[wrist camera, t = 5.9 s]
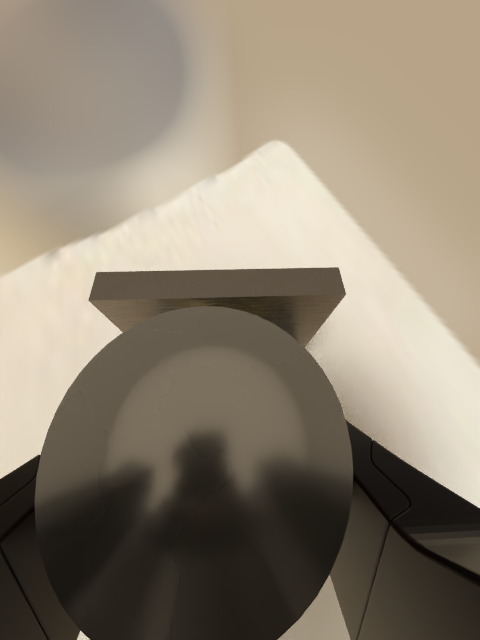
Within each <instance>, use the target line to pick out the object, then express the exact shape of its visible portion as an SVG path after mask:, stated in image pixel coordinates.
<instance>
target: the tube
mask: <svg viewBox="0 0 480 640" xmlns="http://www.w3.org/2000/svg"><path fill="white" fill-rule="evenodd" d="M352 492H353V461H352V450H351V443H350V438H349V433H348V428H347V423H346V420H345V417H344V414H343V411H342V408H341V405H340V402H339V400H338V398H337V396H336V393H335V391H334V389H333V387H332V385H331V383H330V382H329V380H328V378H327V377H326V375H325V373H324V371H323V370H322V368H321V367H320V366H319V365H318V363H317V362H316V361H315V359H314V358H313V357H312V355H311V354H310V353H309V352H308V351H307V350H306V349H305V348H304V347H303V346H302V345H301V344H300V343H299V342H298V341H297V340H295V339H294V338H293V337H292V336H291V335H289V334H288V333H287V332H285V331H284V330H282V329H281V328H279V327H278V326H276V325H275V324H273V323H271V322H269V321H267V320H265V319H263V318H261V317H259V316H256V315H253V314H250V313H247V312H245V311H240V310H236V309H232V308H225V307H216V306H198V307H189V308H182V309H177V310H173V311H169V312H165V313H163V314H160V315H157V316H154V317H151V318H149V319H147V320H145V321H143V322H141V323H139V324H137V325H135V326H133V327H132V328H130V329H128V330H127V331H125V332H124V333H122V334H120V335H119V336H118V337H117V338H115V339H114V340H113V341H111V342H110V343H109V344H107V345H106V346H105V347H104V348H103V349H102V350H101V351H100V352H99V353H98V354H97V355H96V356H95V357H93V359H92V360H91V361H90V362H89V363H88V364H87V365H86V367H85V368H84V369H83V370H82V371H81V372H80V374H79V375H78V376H77V378H76V379H75V381H74V382H73V384H72V385H71V386H70V388H69V389H68V391H67V393H66V394H65V396H64V398H63V400H62V402H61V403H60V405H59V407H58V409H57V411H56V413H55V416H54V418H53V420H52V422H51V425H50V427H49V429H48V432H47V436H46V439H45V442H44V445H43V449H42V452H41V456H40V461H39V467H38V472H37V477H36V490H35V523H36V533H37V538H38V544H39V550H40V555H41V558H42V561H43V564H44V567H45V570H46V574H47V577H48V580H49V582H50V584H51V586H52V588H53V590H54V592H55V594H56V596H57V598H58V600H59V602H60V604H61V606H62V607H63V608H64V610H65V611H66V612H67V614H68V615H69V617H70V618H71V619H72V621H73V622H74V623H75V625H76V626H77V627H78V628H79V629H80V630H81V631H82V632H83V633H84V634H85V635H86V636H87V637H88V638H89V639H90V640H277V639H279V638H280V637H281V636H282V635H283V634H284V633H285V632H286V631H287V630H288V629H289V628H290V627H291V626H292V625H293V624H294V623H295V622H296V621H297V620H298V619H299V618H300V617H301V616H302V615H303V613H304V612H305V611H306V609H307V608H308V607H309V606H310V604H311V603H312V602H313V600H314V599H315V598H316V596H317V595H318V593H319V591H320V590H321V588H322V586H323V584H324V583H325V581H326V579H327V578H328V576H329V574H330V572H331V570H332V568H333V565H334V563H335V561H336V558H337V556H338V553H339V551H340V548H341V546H342V542H343V539H344V535H345V531H346V528H347V524H348V520H349V514H350V507H351V501H352Z"/></svg>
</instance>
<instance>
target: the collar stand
mask: <svg viewBox="0 0 480 640" xmlns="http://www.w3.org/2000/svg"><path fill="white" fill-rule="evenodd" d="M345 295H346V293H345V289H344V286H343V282H342V278H341V275H340V271H339V268H288V269H238V270H187V271H137V272H96V276H95V279H94V283H93V287H92V290H91V294H90V297H89V301H90V302H91V303H92V304H93V305H94V306H95V307H96V308H97V309H98V310H99V311H100V312H102V313H103V314H104V315H105V316H106V317H107V318H108V319H109V320H110V321H111V322H112V323H113V324H114V325H116V326H117V327H118V328H119V329H120V330H121V331H122V332H123V333H124V332H125V331H127V330H128V329H130V328H132V327H133V326H135V325H137V324H139V323H141V322H143V321H145V320H147V319H149V318H151V317H154V316H157V315H160V314H163V313H165V312H169V311H173V310H177V309H182V308H189V307H198V306H216V307H225V308H232V309H236V310H240V311H245V312H247V313H250V314H253V315H256V316H259V317H261V318H263V319H265V320H267V321H269V322H271V323H273V324H275V325H276V326H278V327H279V328H281V329H282V330H284V331H285V332H287V333H288V334H289V335H291V336H292V337H293V338H294V339H295V340H297V341H298V342H299V343H300V344H301V345H302V346H303V347H304V348H305V346H306V345H307V344H308V342H309V341H310V340H311V339H312V337H313V336H314V335H315V333H316V332H317V331H318V330H319V328H320V327H321V326H322V324H323V323H324V322H325V321H326V319H327V318H328V317H329V315H330V314H331V313H332V312H333V310H334V309H335V308H336V307H337V305H338V304H339V303H340V301H341V300H342V299H343V298H344V296H345Z"/></svg>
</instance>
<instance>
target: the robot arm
mask: <svg viewBox="0 0 480 640" xmlns="http://www.w3.org/2000/svg"><path fill="white" fill-rule="evenodd" d="M346 423H347V428H348V433H349V438H350V443H351V450H352V461H353V492H352V501H351V507H350V514H349V520H348V524H347V528H346V531H345V535H344V539H343V542H342V546H341V548H340V551H339V553H338V556H337V558H336V561H335V563H334V565H333V568H332V570H331V572H330V576H331V579H332V582H333V585H334V589H335V592H336V595H337V598H338V601H339V604H340V607H341V610H342V613H343V617H344V620H345V623H346V626H347V629H348V632H349V635H350V638H351V640H480V508H478V507H477V506H475V505H473V504H472V503H470V502H468V501H467V500H465V499H464V498H462V497H460V496H459V495H457V494H456V493H454V492H452V491H451V490H449V489H447V488H446V487H444V486H443V485H441V484H439V483H438V482H436V481H435V480H433V479H431V478H430V477H428V476H427V475H425V474H423V473H422V472H420V471H419V470H417V469H416V468H414V467H412V466H411V465H409V464H408V463H406V462H405V461H403V460H402V459H400V458H399V457H397V456H396V455H394V454H393V453H391V452H390V451H389V450H387V449H386V448H384V447H383V446H381V445H380V444H379V443H377V442H376V441H374V440H372V439H371V438H370V437H369V436H367V435H366V434H365V433H363V432H362V431H360V430H359V429H358V428H356V427H355V426H353V425H352V424H351V423H349V422H348V421H346ZM40 456H41V455H37V456H36V457H34V458H33V459H31V460H30V461H28V462H27V463H25V464H24V465H22V466H20V467H19V468H17V469H16V470H14V471H12V472H11V473H9V474H8V475H6V476H5V477H3V478H1V479H0V640H77V638H78V635H79V632H80V629H79V628H78V627H77V626H76V625H75V623H74V622H73V621H72V619H71V618H70V617H69V615H68V614H67V612H66V611H65V610H64V608H63V607H62V606H61V604H60V602H59V600H58V598H57V596H56V594H55V592H54V590H53V588H52V586H51V584H50V582H49V580H48V577H47V574H46V570H45V567H44V564H43V561H42V558H41V555H40V550H39V544H38V538H37V533H36V523H35V490H36V477H37V472H38V467H39V461H40Z"/></svg>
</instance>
